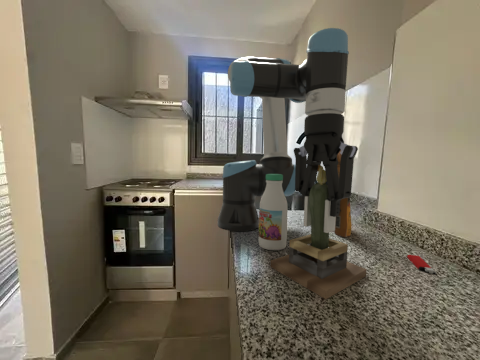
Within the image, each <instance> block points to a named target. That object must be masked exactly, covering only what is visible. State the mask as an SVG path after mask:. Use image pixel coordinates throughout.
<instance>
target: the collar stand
mask: <svg viewBox="0 0 480 360" xmlns="http://www.w3.org/2000/svg"><path fill="white" fill-rule="evenodd" d="M348 246H349V245H348V244H347V243H345V242H343V241H342V242H341V241H339V240H337V239H332V238H330V237H329V245H328V248H326V249H323V250H320V249H318V248H315V247H313V246H312V242H311V233H310V234H306V235H303V236H299V237H296V238H292V239H289V248H288V254H287V255H283V256H279V257H277V258H274V259H270V267H269V268H271V269H273V270H275V271H276V272H278V273H280V274H281V275H283V276H284V277H287V278H288V279H290V280H292V281H293V282H295V283H297V284H299V285H301V286H302V287H304V288H305V289H307V290H309V291H311V292H312V293H314V294H316V295H318V296H319V297H321V298H322V299H325V300H328V299H330V298H331V297H333V296H334V295H336V294H338V293H339V292H342V291H343V290H344V289H346V288H349V287H350V286H351V285H354V284H355V283H357V282H359V281H361V280H363V279H364V278H366V277H367V272H368V271H367V268H365V267H362V266H360V265H357V264H354V263H352V262H349V261H348V250H349V249H348V248H349V247H348Z"/></svg>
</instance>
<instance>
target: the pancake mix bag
mask: <svg viewBox="0 0 480 360" xmlns="http://www.w3.org/2000/svg"><path fill="white" fill-rule="evenodd" d="M340 152H341V150H340ZM340 152H339V153H338V155H337V158H338V165H337V168H338V175H339V173H340V160H341V156H342V155H341V153H340ZM351 211H352V210H351V196H350V197H349V198H344V199H341V201H340V214H339V216H336V221H335V231H333V232H334V234H335V236H338V237H341V238H347V237H350V236H351V233H352V228H353V227H352V226H353V224H352V212H351Z"/></svg>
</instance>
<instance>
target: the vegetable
mask: <svg viewBox="0 0 480 360" xmlns="http://www.w3.org/2000/svg"><path fill="white" fill-rule="evenodd" d="M327 198H329V193H328V186H327V179H326V173H325V168H324V166H323V165H322V164H321V165H318V171H317V177H316V182H315V184H314V185H313V186H312V188H311V190H310V194H309V209H310V216H311V226H310V234H311V242H312V246H313V247H315V248H318V249H320V250H323V249H326V248H329V247H328V245H329V238H330V232H329V233H325V232H324V217H325V200H327Z"/></svg>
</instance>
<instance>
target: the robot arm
mask: <svg viewBox="0 0 480 360" xmlns="http://www.w3.org/2000/svg"><path fill="white" fill-rule="evenodd" d="M349 54H350V53H349V35H348V33H347V32H346V31H345V30H343V29H342V28H338V27H337V28H336V27H328V28H324V29H321V30H318V31H316V32H314V33H313V34H312V35H311V36H310V37H309V39H308V41H307V47H306V59H305V60H304V61H303V62H302V63H301V64H294V63H291V62H290V61H289V60H287V59H284V58H283V59H282V58H278V57H276V58H269V57H258V56H257V57H256V56H245V57H240V58H238V59H235V60H233V61H232V62H231V63H230V64H229V66H228V69H227V78H228V81H229V88H230V94H231V95H233V96H236V97H237V96H238V97H243V98H247V97H252V98H253V97H254V98H255V97H257V98H260V99H262V100H261V102H262V103H261V105H262V106H261V107H262V133H263V157H261V158H260V160H259V161H260V162H259V164H258V163H257V161H256V160H255V159H251V160H242V161H241V160H240V161H233V162H228V163H226V164H224V166H223V168H222V169H223V170H222V176H221V177H222V204H221V208H220V212H219V214H218V217H217V226H218V228H220V229H222V230H223V231H224V230H225V231H229V232H249V231H253V230H254V231H255V230H257V229H259V213H258V210H257V207H256V197H262V196H263V193H264V191H265V189H266V184H267V183H266V174H282V175H283V180H282V181H283V182H282V189H283V192H284V195H285V197H289V196H290V197H291V196H292V195H294V194H295V192H297V193H300V194H301V196H302V197H301V198H302V200H301V201H302V202H301V203H302V204H301V209H302V210H304V211H303V212H304V214H303V227H311V216H310V209H309V194H310V190H311V188H312V186H313V185H314V184H316V182H317V175H318V172H317V171H318V165H321V166H323V168H324V170H325V173H326V179H327V181H326V185H327V186H328V193H329V198H327V200H325V217H324V232H325V233H329V234H330V233H331V232H334V231H335V221H336V216H339V214H340V201H341V199H344V198H349V197H350V198H351V196H352V188H353V187H352V186H353V185H352V184H353V172H354V163H355V162H354V161H355V158H356V155H357V152H358V151H359V148H358V146H357V145H350V144H347V143H345V141H344V139H343V133H344V130H345V127H344V126H345V116H344V115H343V114H344V113H346V111H345V110H346V92H347V91H346V87H347V77H348V75H347V74H348V64H349V63H348V62H349ZM285 99H288V100H289V101H291V102H293V103H297V104H301V103H305V104H304V105H305V109H304V110H305V111H304V113H305V115H306V117H305V118H304V127H303V129H304V131H303V133H304V136H305V141H304V142H303V145H302V146H299V147H295V148H293V154H294V158H295V163H293V158H292V156H290V155H289V154H288V140H287V122H286V105H285V101H286V100H285ZM340 150H341V152H340ZM339 152H340V153H341V155H342V156H341V160H340V173H339V175H338V168H337V165H338V158H337V155H338V153H339Z"/></svg>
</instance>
